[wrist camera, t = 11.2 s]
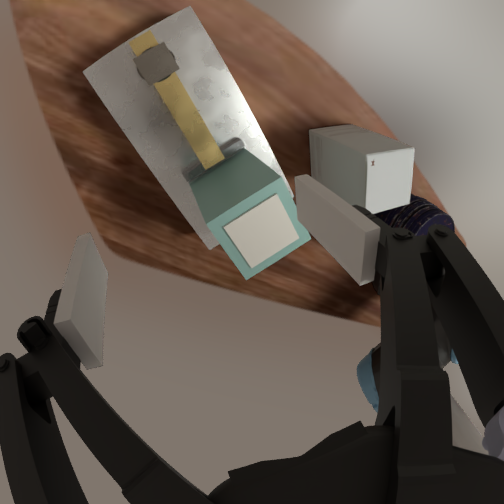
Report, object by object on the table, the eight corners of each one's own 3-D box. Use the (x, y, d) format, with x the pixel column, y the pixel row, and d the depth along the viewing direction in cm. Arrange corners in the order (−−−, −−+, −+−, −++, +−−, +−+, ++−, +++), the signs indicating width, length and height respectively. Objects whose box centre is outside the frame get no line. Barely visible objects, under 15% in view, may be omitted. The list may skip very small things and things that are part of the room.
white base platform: (278, 182, 41) (298, 199, 37) (202, 231, 42) (211, 254, 37) (184, 15, 27) (191, 3, 22) (91, 72, 27) (80, 71, 22)
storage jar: (337, 185, 45) (404, 232, 32) (387, 162, 45) (457, 200, 33) (347, 237, 50) (404, 291, 38) (392, 213, 51) (452, 258, 39)
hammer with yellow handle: (155, 34, 23) (157, 25, 19) (219, 144, 31) (232, 156, 27) (125, 51, 23) (121, 45, 19) (192, 160, 31) (200, 175, 27)
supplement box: (309, 179, 43) (362, 218, 32) (307, 128, 38) (366, 153, 28) (353, 171, 44) (410, 205, 34) (353, 123, 40) (416, 146, 30)
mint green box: (271, 197, 37) (312, 239, 28) (221, 230, 37) (246, 281, 28) (244, 148, 32) (282, 177, 24) (188, 183, 32) (206, 225, 24)
